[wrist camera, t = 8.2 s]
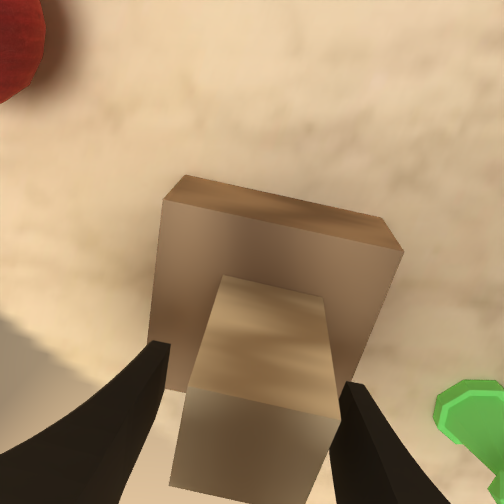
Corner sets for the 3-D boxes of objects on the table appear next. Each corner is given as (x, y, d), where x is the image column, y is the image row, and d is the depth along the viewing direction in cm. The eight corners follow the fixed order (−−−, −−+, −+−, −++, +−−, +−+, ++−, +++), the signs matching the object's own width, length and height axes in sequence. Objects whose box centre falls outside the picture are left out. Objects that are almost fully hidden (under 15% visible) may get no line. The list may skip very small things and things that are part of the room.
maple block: (322, 297, 16) (341, 420, 10) (296, 374, 17) (300, 514, 12) (223, 274, 15) (187, 386, 10) (206, 353, 17) (168, 485, 12)
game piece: (530, 393, 21) (615, 504, 16) (483, 443, 23) (544, 559, 18) (459, 367, 21) (520, 472, 16) (416, 421, 23) (458, 531, 17)
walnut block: (380, 215, 18) (404, 251, 15) (325, 364, 22) (333, 423, 18) (187, 172, 18) (162, 199, 14) (165, 331, 22) (142, 383, 18)
